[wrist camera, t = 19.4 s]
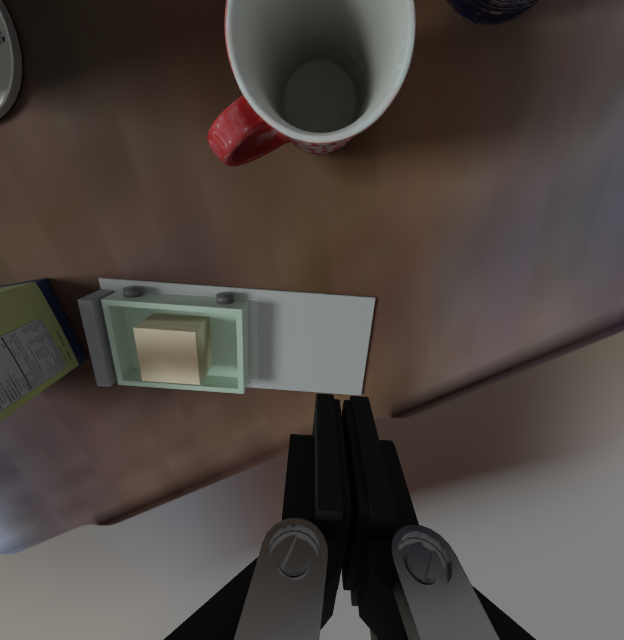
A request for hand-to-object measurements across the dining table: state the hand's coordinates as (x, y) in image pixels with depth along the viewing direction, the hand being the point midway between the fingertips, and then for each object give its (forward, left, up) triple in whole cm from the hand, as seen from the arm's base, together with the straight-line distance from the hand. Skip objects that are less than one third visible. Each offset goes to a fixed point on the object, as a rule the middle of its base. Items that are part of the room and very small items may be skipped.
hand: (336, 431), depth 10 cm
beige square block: (-15, -9, -23) cm, 29 cm away
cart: (-15, -9, -24) cm, 30 cm away
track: (-9, -9, -24) cm, 27 cm away
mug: (-3, +13, -24) cm, 28 cm away
